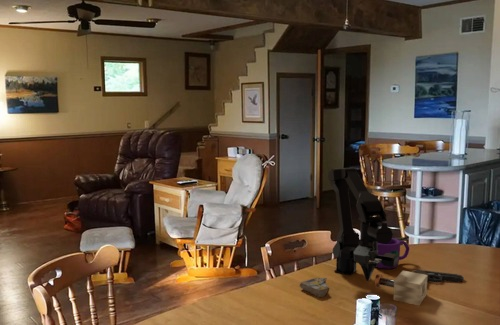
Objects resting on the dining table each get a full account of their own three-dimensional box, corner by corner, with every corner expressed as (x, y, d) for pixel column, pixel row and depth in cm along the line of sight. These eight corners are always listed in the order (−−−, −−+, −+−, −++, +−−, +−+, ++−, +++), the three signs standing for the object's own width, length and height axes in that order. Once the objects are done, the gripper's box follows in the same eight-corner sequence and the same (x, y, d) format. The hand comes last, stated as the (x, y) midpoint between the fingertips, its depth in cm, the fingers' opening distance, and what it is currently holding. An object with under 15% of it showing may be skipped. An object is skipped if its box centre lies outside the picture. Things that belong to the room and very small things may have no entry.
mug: (381, 272, 181) (381, 246, 180) (363, 262, 192) (364, 238, 190) (418, 266, 187) (419, 241, 186) (399, 257, 198) (400, 233, 197)
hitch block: (393, 300, 155) (394, 279, 154) (402, 289, 164) (402, 270, 163) (419, 305, 151) (420, 284, 150) (426, 294, 159) (427, 275, 159)
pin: (374, 288, 161) (374, 276, 161) (378, 284, 165) (379, 272, 164) (411, 296, 155) (412, 283, 154) (415, 291, 158) (415, 279, 158)
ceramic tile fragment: (334, 288, 157) (303, 289, 156) (334, 298, 157) (303, 299, 157) (325, 276, 169) (297, 277, 168) (325, 285, 169) (297, 286, 168)
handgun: (469, 287, 162) (463, 273, 173) (412, 280, 166) (410, 267, 178) (468, 295, 163) (462, 281, 174) (411, 288, 167) (409, 274, 178)
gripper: (333, 237, 161) (332, 282, 163) (389, 246, 151) (387, 293, 153) (346, 230, 170) (345, 272, 172) (399, 237, 160) (397, 283, 162)
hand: (367, 280), depth 165 cm, fingers closed
